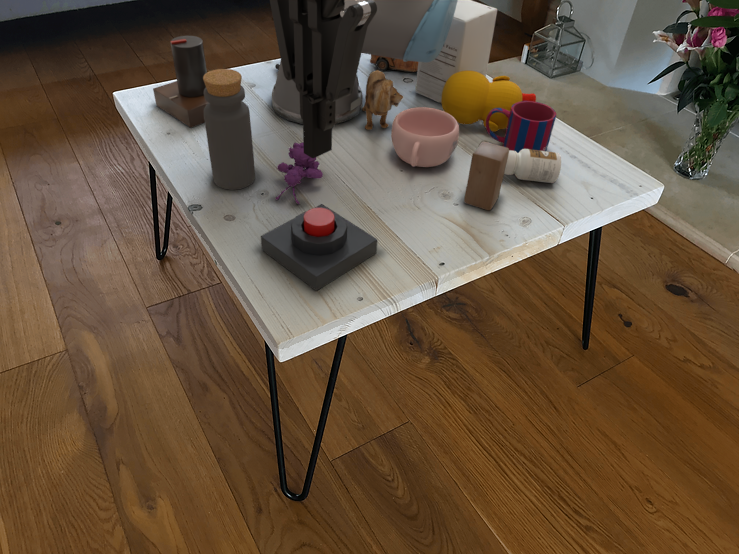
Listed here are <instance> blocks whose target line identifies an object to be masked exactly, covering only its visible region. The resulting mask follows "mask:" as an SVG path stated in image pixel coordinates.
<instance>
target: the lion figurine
mask: <svg viewBox="0 0 739 554" xmlns="http://www.w3.org/2000/svg"><path fill="white" fill-rule="evenodd" d="M403 99H404V96H403V95H402V94H401V93H400V92H398V89H397V88H396V87H395V86H394V80H392V79H387V78H386V74H385V73H384V71H380V70H379V69H376V70H374V71H371V72H370V74H369V75H368V78H367V80H366V86H365V97H364V101H365V102H364V105H363V106H362V109H361V111H362V112H365V118H366V124H365V126H364V129H365V130H367V131H371V130H373V127H374V122H373V115H374V116H376V117H377V116H378V117H380V118H379V125H380V127H381V128H382V129H387V128H389V124H388V123H387V116H388V113H389V111H391V110H392V107H393V106H394V107H395V108H398V107H399V104H400V103H401V102H402V100H403Z"/></svg>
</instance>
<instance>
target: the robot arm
mask: <svg viewBox="0 0 739 554" xmlns="http://www.w3.org/2000/svg"><path fill="white" fill-rule="evenodd" d="M269 4H270V10H271V15H272V20H273V24H274V32H275V35H276V41H277V45H278V52H279V57H280V60H279V61H280V62H279V63H277V64H275V66H274V68H275V69H276V70H277V75H276V79H275V83H274V85H273V87H272V91H271V105H272V106H271V107H272V108H273V111H274V112H275V113H276V114H277V115H278V116H280V117H281V118H283V119H284V120H287V121H290V122H292V123H296V124H300V125H302V139H303V140H302V141H303V146H304V154H306V155H308V156H309V157H311V158H315V157H320V156H322V155H324V154H327V153H329V152H331V151H332V150H333V128H334V127H335V126H336V124H341V123H344V122H347V121H350V120H352V119H353V118H355V117H357V116H358V115H359V114H360V112H361V111H362V108H363V99H364V97H363V91H362V87H361V86H360V83H359V78H358V70H359V65H360V60H361V57H362V54H365V55H370V56H371V55H377V56H383V57H389V58H395V59H402V60H403V61H404V62H407V61H416V62H425V63H426V62H431V61H433V60H434V59H436V58H437V56H438V55H439V54H440V52H441V50H442V48H443V45H444V43H445V40H446V38H447V35H448V32H449V29H450V26H451V23H452V20H453V16H454V13H455V9H456V5H457V0H269Z"/></svg>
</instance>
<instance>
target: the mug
mask: <svg viewBox="0 0 739 554" xmlns="http://www.w3.org/2000/svg"><path fill="white" fill-rule="evenodd" d="M390 137H391V143H392V146H393V149H394V151H395V154H396V155H397V156H398V158H399V159H401V160H402V161H403V162H404V163H406V164H408V165H410V166H411V167H412V168H414V167H418V168H419V167H420V168H434V167H438V166H440V165H442V164H444V163H446V162H447V161H448V160H449V159H450V157H452V155H453V153H454V152H455V150H456V148H457V146H458V143H459V139H460V124H459V123H457V121H456V119H455V118H454V117H453V116H451V115H450V114H448V113H446V112H444V111H443V110H441V109H438V108H434V107H426V106H424V107H423V106H417V107H411V108H406V109H404V110H402V111H400V112H399V113H397V114H396V115H395V117H394V119H393V121H392V125H391V132H390Z"/></svg>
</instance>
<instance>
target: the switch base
mask: <svg viewBox="0 0 739 554" xmlns="http://www.w3.org/2000/svg"><path fill="white" fill-rule="evenodd" d="M314 208H325V209H328V210H330V211H331V212H332V213H333V214H334V231H333V233H332V234H330V235H328V236H323V237H315V236H310V235H308V234H307V233H306V232H305V230H304V214H305V213H306V212H307V211H308V210H306V211H304V212H302V213H300V214H298V215H296V216H295V217H293V218H292V219H289V220H288V221H285V222H284V223H282V224H281V225H279V226H277V227H275V228H272V229H271V230H269V231H267V232H266V233H263V234H262V235H260V246H261V251H263V252H264V253H265V254H266V255H268V256H269V257H271V258H272V259H273V260H275V261H276V262H277V263H278V264H280V265H281V266H283V267H284V268H285V269H287V270H288V272H289V271H290V273H292V274H293V275H295V276H296V277H297V278H298V279H300V280H301V281H303V282H304V283H305V284H307V285H308V286H309V287H311V288H312V289H313V290H315V291H316V292H317V291H319V290H320V289H322V288H324V287H326V286H327V285H329V284H330V283H332V282H333V281H334V280H336V279H338V278H339V277H341V276H343V275H344V274H346V273H348V272H349V271H350V270H352V269H354V268H355V267H357V266H358V265H360V264H362V263H363V262H365V261H367V260H368V259H370V258H371V257H372V256H374V255H376V254H377V251H378V238H376V237H375V236H373V235H371V234H370V233H369V232H367V231H366V230H363V229H362V228H360V227H359V226H357V225H356V224H355V223H353V222H351V221H349V220H348V219H346V218H345V217H343V216H342V215H340V214H339V213H337V212H336V211H334V210H332V209H331V208H329V207H328V206H326V205H325V204H323V203H320V204H318V205H317V206H314Z"/></svg>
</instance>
